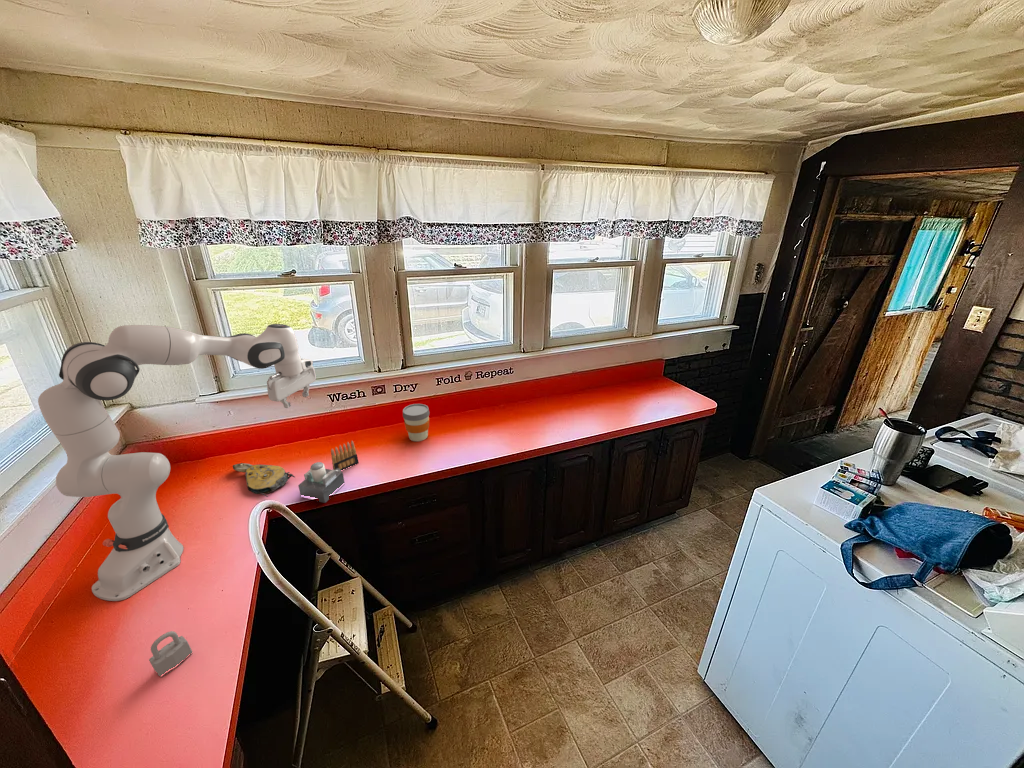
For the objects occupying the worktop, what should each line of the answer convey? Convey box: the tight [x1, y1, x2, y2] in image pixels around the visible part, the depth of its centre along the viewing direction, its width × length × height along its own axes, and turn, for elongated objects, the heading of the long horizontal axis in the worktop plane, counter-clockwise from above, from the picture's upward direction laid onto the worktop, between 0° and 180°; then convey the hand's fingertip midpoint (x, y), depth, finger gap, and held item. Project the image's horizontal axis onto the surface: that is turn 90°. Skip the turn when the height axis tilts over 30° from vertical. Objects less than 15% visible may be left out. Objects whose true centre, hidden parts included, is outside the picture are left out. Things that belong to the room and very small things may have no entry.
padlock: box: [148, 630, 193, 677], centre depth 102 cm, size 7×4×10 cm, turn 149°
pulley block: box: [232, 462, 296, 498], centre depth 170 cm, size 14×6×30 cm
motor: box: [298, 468, 346, 504], centre depth 165 cm, size 16×11×9 cm
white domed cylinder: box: [309, 461, 326, 482], centre depth 161 cm, size 5×5×6 cm
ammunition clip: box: [330, 440, 360, 471], centre depth 177 cm, size 11×2×12 cm, turn 137°
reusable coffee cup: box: [402, 403, 431, 442], centre depth 200 cm, size 13×13×15 cm
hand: (297, 401), depth 155 cm, fingers open, 8 cm apart
